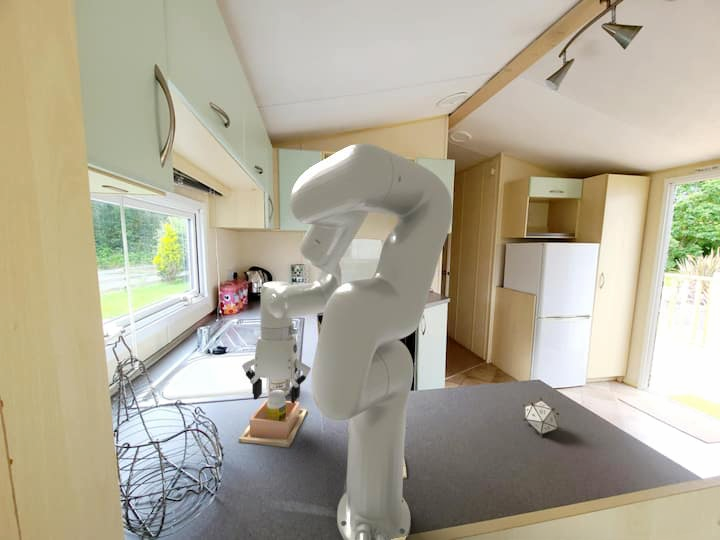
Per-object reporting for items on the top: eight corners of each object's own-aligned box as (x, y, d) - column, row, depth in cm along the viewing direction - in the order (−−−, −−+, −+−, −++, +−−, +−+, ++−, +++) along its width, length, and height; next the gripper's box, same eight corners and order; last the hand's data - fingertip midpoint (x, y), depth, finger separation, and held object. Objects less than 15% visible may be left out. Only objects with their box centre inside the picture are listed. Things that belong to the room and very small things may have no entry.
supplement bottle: (281, 432, 68) (281, 400, 67) (263, 430, 69) (262, 398, 68) (289, 420, 73) (289, 389, 72) (272, 418, 74) (272, 387, 73)
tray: (288, 452, 64) (288, 443, 63) (238, 446, 65) (238, 438, 65) (307, 416, 77) (307, 409, 77) (265, 412, 79) (265, 405, 79)
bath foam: (293, 397, 87) (294, 333, 86) (271, 404, 83) (272, 337, 81) (284, 388, 92) (284, 328, 91) (263, 394, 88) (263, 332, 87)
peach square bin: (286, 439, 66) (286, 423, 66) (249, 435, 67) (249, 419, 67) (299, 416, 75) (299, 402, 75) (266, 413, 76) (266, 399, 76)
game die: (534, 446, 73) (513, 417, 72) (532, 419, 80) (513, 392, 79) (572, 444, 68) (551, 413, 67) (567, 416, 75) (547, 386, 74)
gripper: (314, 329, 72) (313, 393, 73) (250, 325, 74) (250, 388, 75) (306, 338, 65) (305, 410, 66) (235, 334, 66) (235, 403, 68)
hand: (276, 398), depth 71 cm, fingers open, 9 cm apart
